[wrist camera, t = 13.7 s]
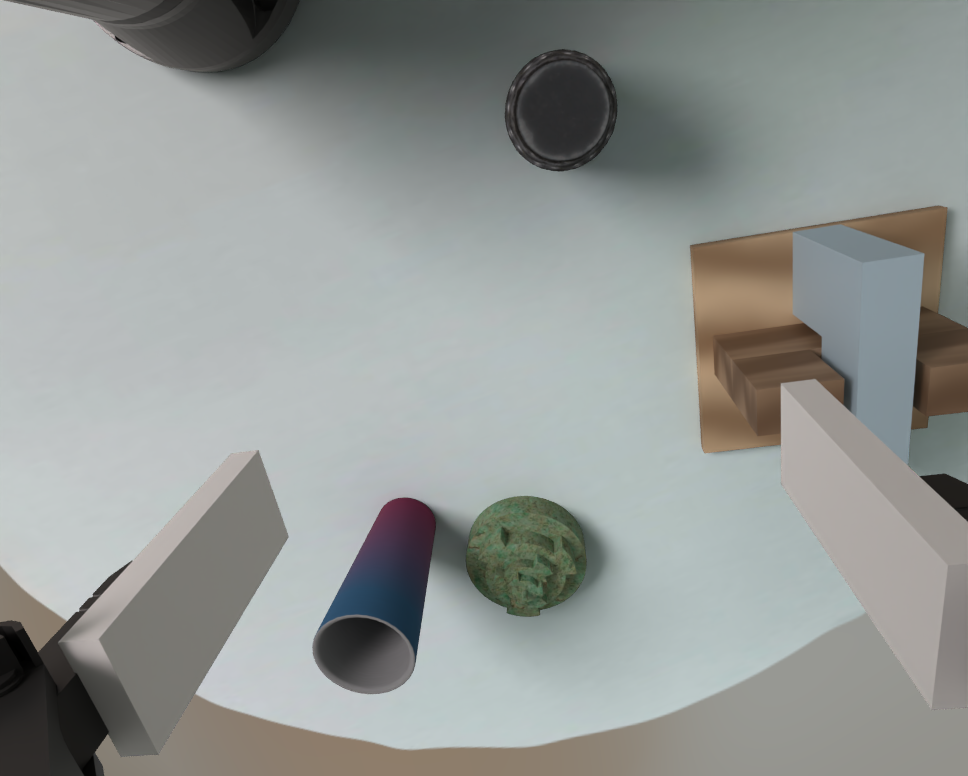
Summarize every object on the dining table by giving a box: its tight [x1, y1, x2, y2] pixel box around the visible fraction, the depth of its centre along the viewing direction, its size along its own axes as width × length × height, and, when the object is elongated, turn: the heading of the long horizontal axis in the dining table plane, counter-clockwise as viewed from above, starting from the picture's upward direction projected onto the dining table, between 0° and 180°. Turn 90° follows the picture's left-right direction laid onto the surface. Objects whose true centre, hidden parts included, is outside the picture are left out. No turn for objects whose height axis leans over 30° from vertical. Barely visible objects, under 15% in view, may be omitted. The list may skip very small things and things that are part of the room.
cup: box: [313, 498, 436, 694], centre depth 48 cm, size 7×7×15 cm
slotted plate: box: [793, 224, 924, 465], centre depth 41 cm, size 16×3×10 cm, turn 10°
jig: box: [690, 206, 968, 453], centre depth 41 cm, size 16×16×11 cm
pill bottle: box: [505, 49, 617, 171], centre depth 37 cm, size 6×6×11 cm
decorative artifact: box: [466, 496, 586, 617], centre depth 52 cm, size 10×7×10 cm
